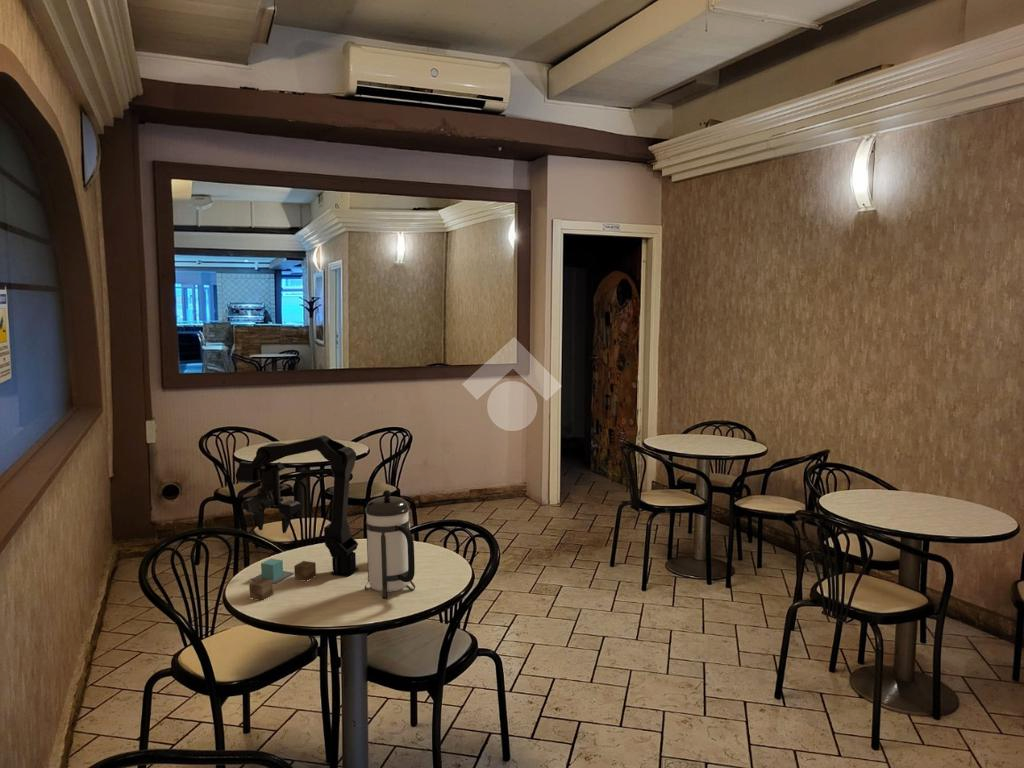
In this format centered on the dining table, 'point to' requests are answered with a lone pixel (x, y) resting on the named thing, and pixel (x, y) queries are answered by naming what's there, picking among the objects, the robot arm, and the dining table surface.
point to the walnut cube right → (305, 570)
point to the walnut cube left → (261, 589)
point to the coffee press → (389, 544)
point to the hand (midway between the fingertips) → (272, 531)
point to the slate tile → (276, 580)
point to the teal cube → (272, 568)
